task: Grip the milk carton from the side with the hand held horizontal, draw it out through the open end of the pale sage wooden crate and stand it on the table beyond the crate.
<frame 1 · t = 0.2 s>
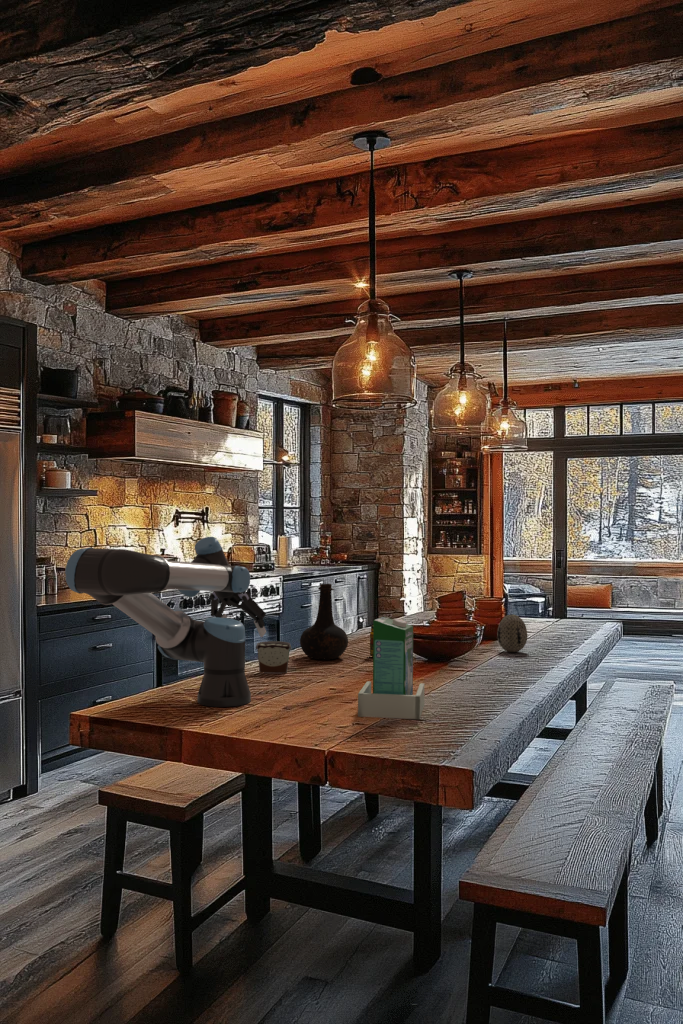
hand: (246, 632, 268), 15 cm above the table, tool tilted 35°, fingers open, 13 cm apart
milk carton: (392, 709, 229), on the table
condiment: (378, 657, 315), on the table
crate: (392, 709, 228), on the table
food container: (274, 672, 283), on the table
decorative egg: (512, 652, 327), on the table
glass bottle: (324, 658, 311), on the table
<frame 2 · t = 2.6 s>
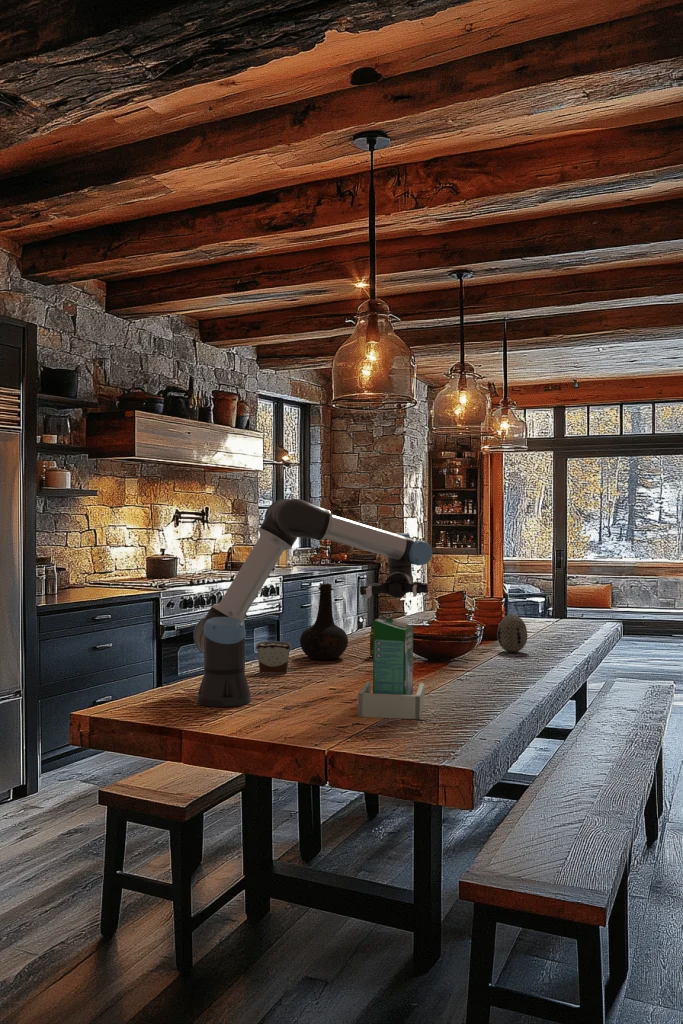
hand: (390, 592, 240), 31 cm above the table, tool horizontal, fingers open, 13 cm apart
nothing on the table moved.
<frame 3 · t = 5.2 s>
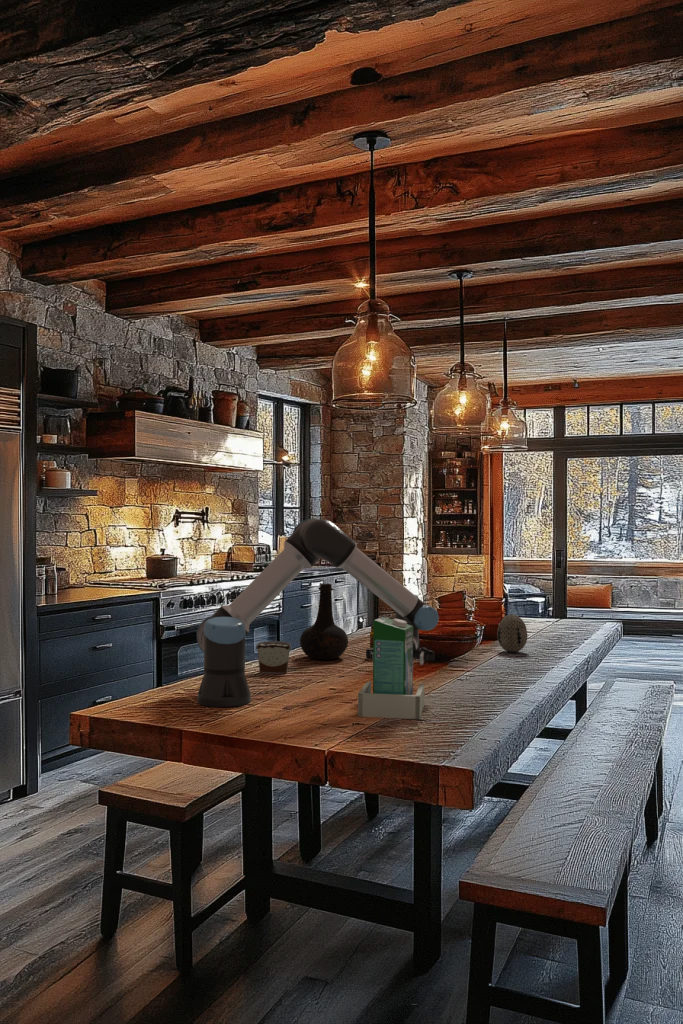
hand: (397, 659, 237), 12 cm above the table, tool horizontal, fingers open, 13 cm apart
nothing on the table moved.
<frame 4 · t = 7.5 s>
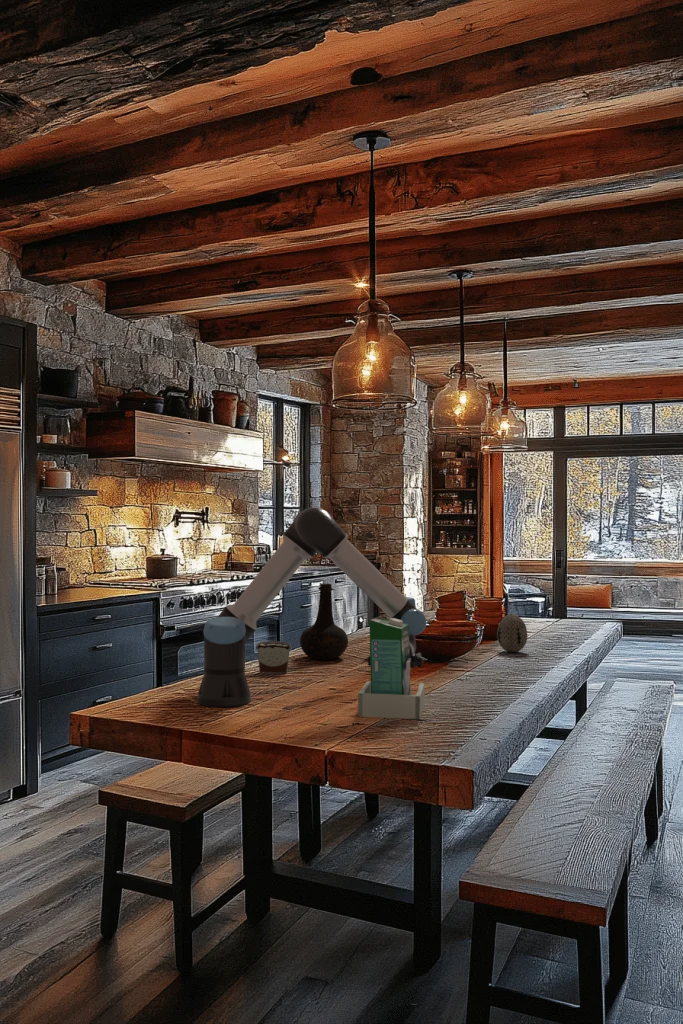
hand: (392, 666, 224), 13 cm above the table, tool horizontal, fingers open, 8 cm apart
milk carton: (391, 709, 229), on the table, touching gripper
everything else where it was.
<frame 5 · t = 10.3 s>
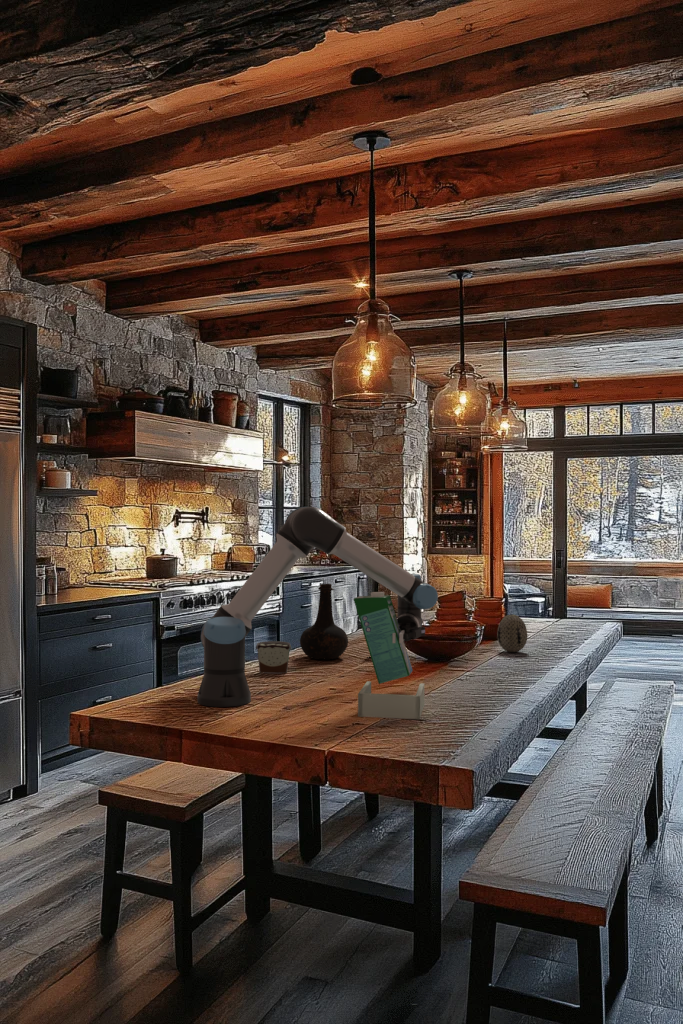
hand: (397, 638, 230), 19 cm above the table, tool horizontal, fingers closed on milk carton
milk carton: (396, 678, 235), point 7 cm above the table, touching gripper
everything else where it was.
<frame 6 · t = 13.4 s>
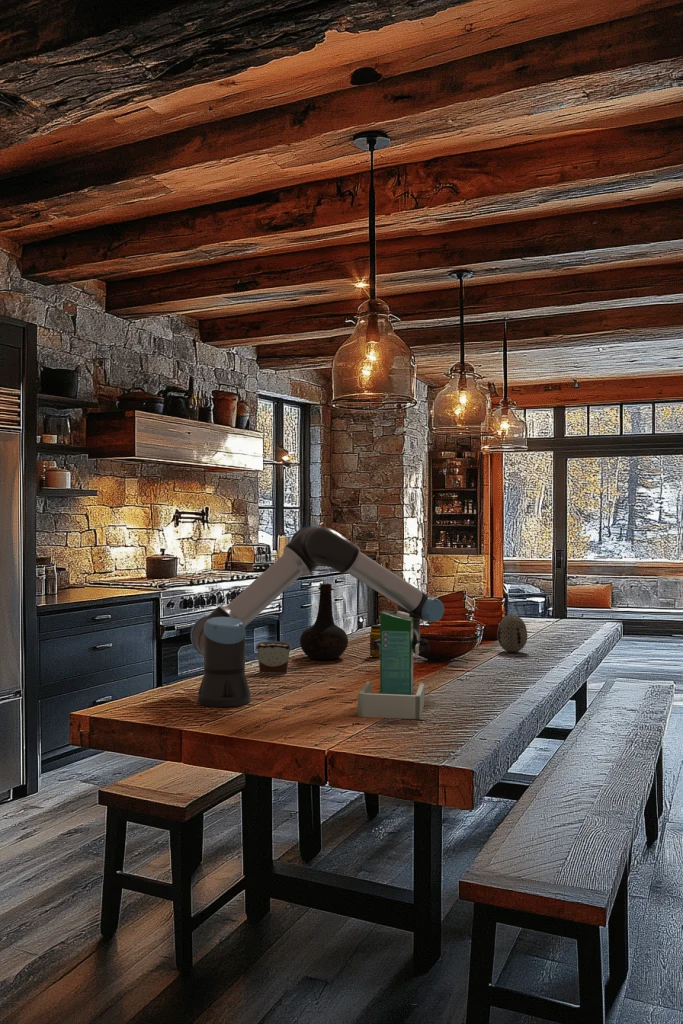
hand: (398, 650, 243), 14 cm above the table, tool horizontal, fingers open, 10 cm apart
milk carton: (396, 695, 247), on the table
everything else where it was.
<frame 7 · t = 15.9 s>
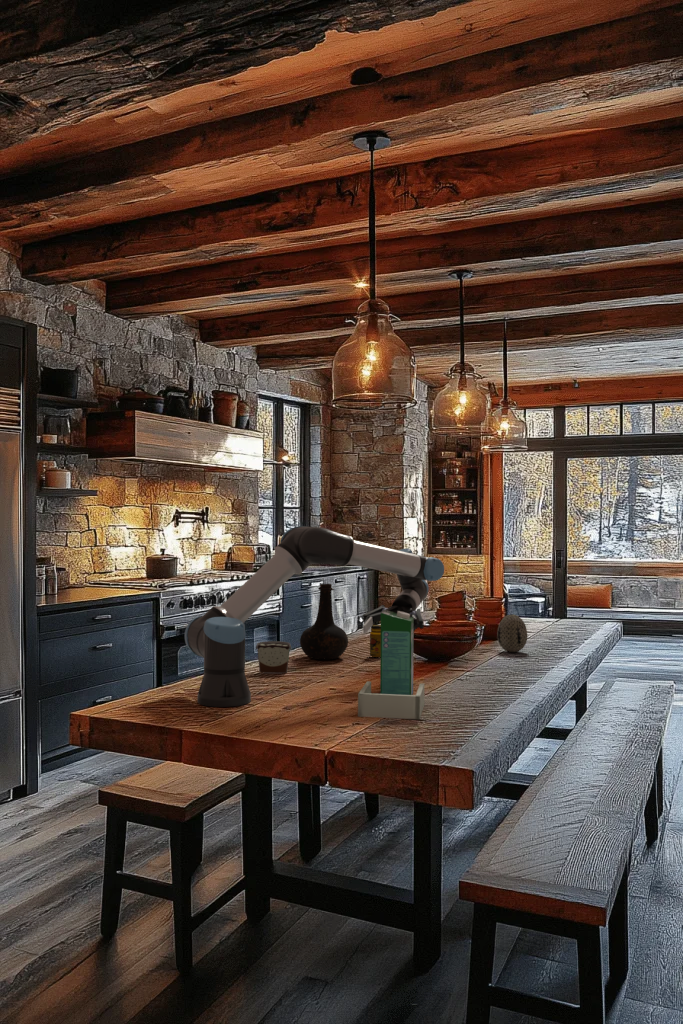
hand: (384, 631, 258), 17 cm above the table, tool tilted 70°, fingers open, 13 cm apart
nothing on the table moved.
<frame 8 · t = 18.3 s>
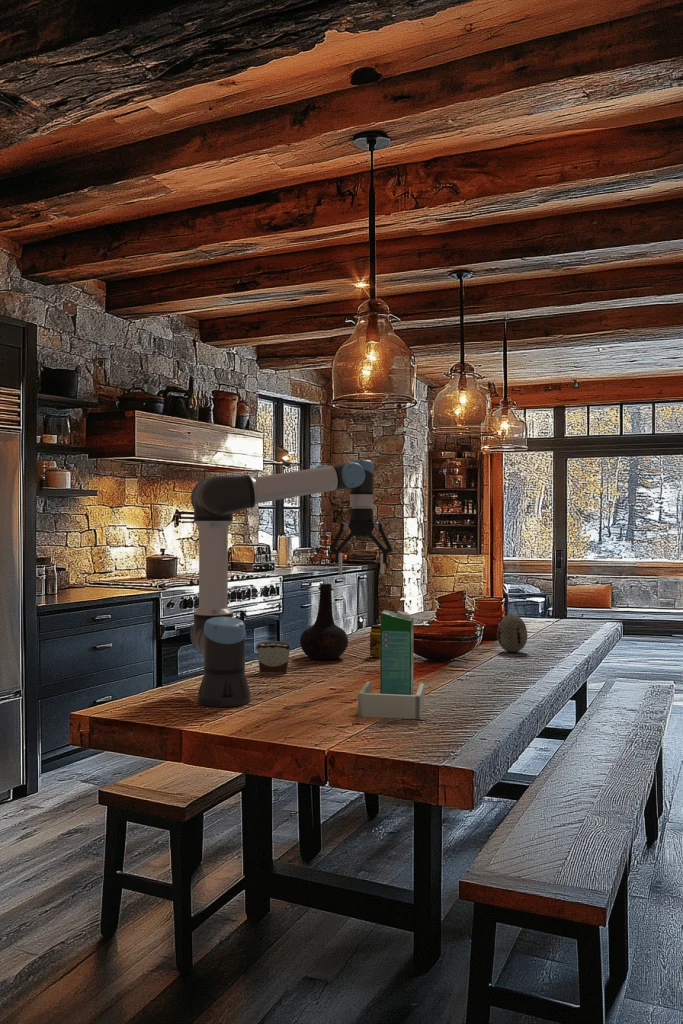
hand: (361, 573, 268), 35 cm above the table, tool pointing down, fingers open, 13 cm apart
nothing on the table moved.
at the end: milk carton inside the target area (1.5 cm from its centre), on the table; milk carton tilted 0°; the gripper is holding nothing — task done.
